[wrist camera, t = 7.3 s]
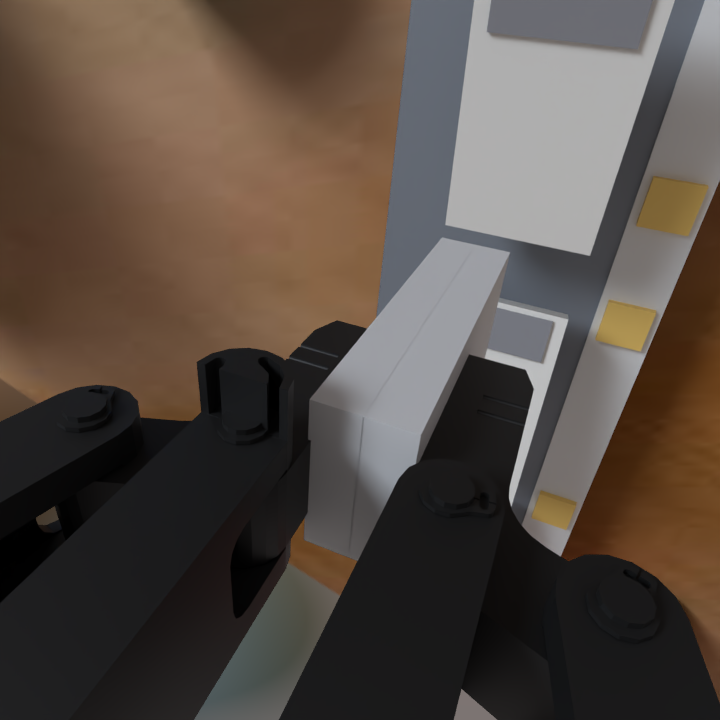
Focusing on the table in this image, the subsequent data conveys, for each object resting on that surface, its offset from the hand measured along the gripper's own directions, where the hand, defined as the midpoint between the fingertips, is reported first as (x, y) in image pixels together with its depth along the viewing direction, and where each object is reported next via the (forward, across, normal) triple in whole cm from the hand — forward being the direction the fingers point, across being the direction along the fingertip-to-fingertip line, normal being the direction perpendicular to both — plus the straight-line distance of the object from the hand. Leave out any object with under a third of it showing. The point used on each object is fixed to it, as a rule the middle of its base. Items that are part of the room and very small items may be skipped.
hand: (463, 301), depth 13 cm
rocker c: (+9, 0, +3) cm, 10 cm away
